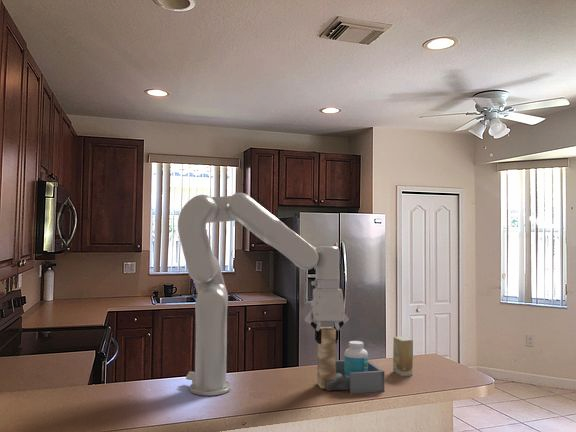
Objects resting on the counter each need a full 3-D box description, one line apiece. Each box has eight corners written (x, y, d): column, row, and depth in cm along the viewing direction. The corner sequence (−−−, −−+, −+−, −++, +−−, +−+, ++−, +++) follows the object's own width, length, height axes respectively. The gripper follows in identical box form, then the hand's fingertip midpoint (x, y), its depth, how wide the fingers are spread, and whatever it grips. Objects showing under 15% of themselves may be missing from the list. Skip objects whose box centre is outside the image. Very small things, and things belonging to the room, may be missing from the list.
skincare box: (392, 371, 166) (392, 336, 166) (403, 370, 167) (403, 335, 167) (402, 376, 159) (402, 340, 160) (413, 375, 161) (413, 339, 161)
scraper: (323, 390, 143) (324, 331, 144) (315, 381, 152) (316, 325, 153) (348, 389, 145) (349, 330, 146) (339, 380, 154) (340, 325, 154)
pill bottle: (369, 388, 146) (369, 345, 147) (345, 388, 147) (345, 344, 147) (365, 381, 154) (365, 339, 155) (343, 381, 154) (343, 339, 155)
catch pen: (350, 393, 142) (350, 373, 142) (334, 378, 156) (335, 360, 157) (384, 391, 144) (384, 371, 144) (365, 376, 159) (365, 358, 159)
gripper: (304, 286, 144) (303, 346, 143) (356, 285, 148) (356, 344, 147) (298, 283, 151) (297, 340, 150) (348, 283, 155) (347, 339, 154)
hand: (326, 342), depth 149 cm, fingers closed on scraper, 4 cm apart
